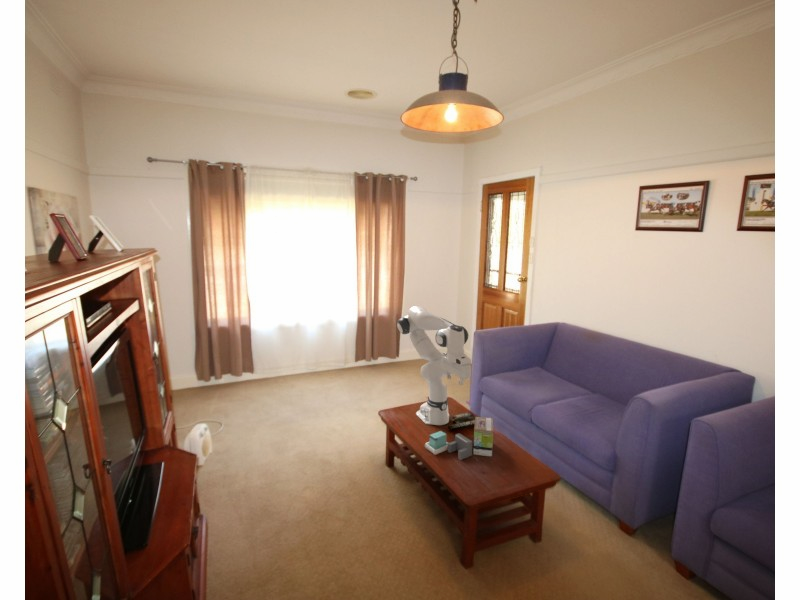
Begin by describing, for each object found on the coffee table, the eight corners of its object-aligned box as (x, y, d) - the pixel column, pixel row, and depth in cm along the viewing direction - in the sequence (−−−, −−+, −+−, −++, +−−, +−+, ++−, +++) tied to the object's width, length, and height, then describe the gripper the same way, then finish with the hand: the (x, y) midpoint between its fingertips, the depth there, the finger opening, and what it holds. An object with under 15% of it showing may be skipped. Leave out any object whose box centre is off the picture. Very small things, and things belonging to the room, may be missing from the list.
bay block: (447, 451, 212) (448, 437, 211) (458, 446, 217) (459, 432, 215) (460, 460, 204) (461, 445, 203) (471, 455, 209) (472, 441, 207)
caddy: (429, 446, 215) (429, 434, 214) (440, 442, 219) (440, 430, 218) (434, 450, 211) (435, 438, 210) (446, 446, 216) (446, 434, 214)
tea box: (492, 457, 207) (493, 431, 204) (473, 454, 209) (474, 428, 206) (491, 442, 222) (493, 417, 219) (473, 440, 224) (474, 415, 221)
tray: (424, 447, 216) (424, 443, 215) (439, 441, 222) (439, 437, 221) (434, 454, 209) (435, 450, 208) (450, 448, 215) (450, 444, 214)
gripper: (438, 352, 213) (437, 377, 215) (464, 363, 196) (463, 389, 198) (447, 350, 216) (446, 374, 219) (473, 360, 199) (472, 386, 202)
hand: (454, 381), depth 208 cm, fingers open, 8 cm apart
